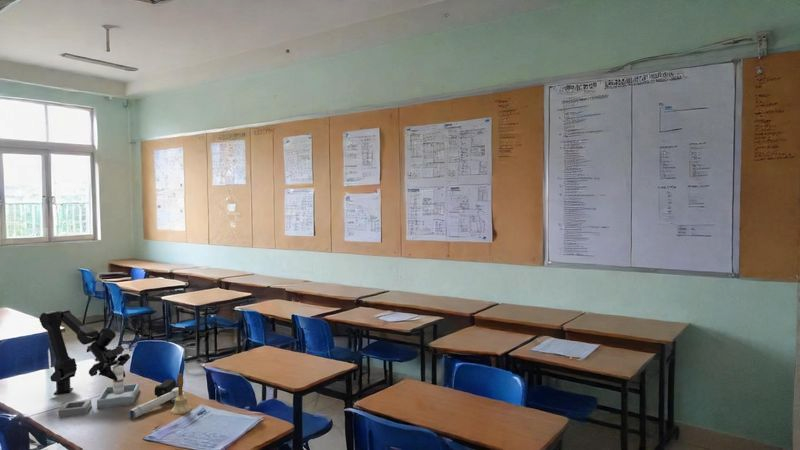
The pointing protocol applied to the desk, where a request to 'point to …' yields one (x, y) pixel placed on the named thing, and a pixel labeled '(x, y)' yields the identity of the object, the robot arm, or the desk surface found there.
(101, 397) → the tray
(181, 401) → the hand bell
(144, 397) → the desk surface
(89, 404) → the socket block
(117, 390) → the light bulb
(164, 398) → the white long bar
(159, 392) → the digital camera
